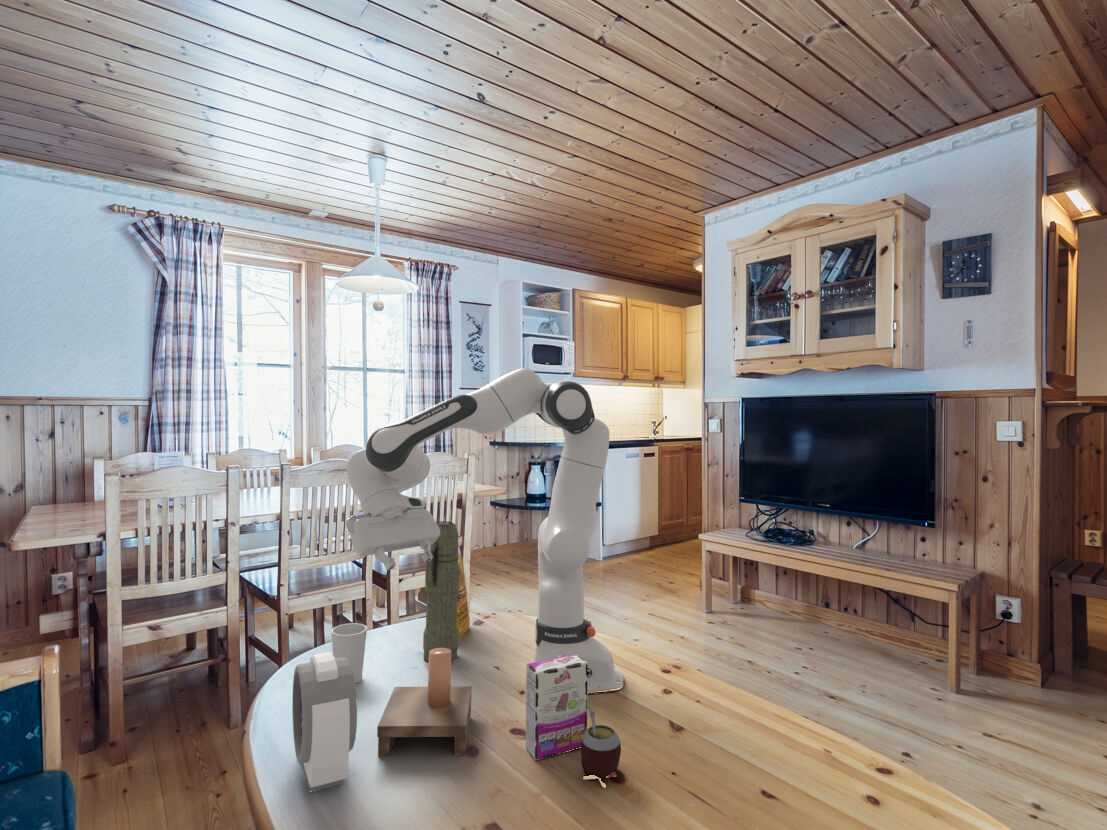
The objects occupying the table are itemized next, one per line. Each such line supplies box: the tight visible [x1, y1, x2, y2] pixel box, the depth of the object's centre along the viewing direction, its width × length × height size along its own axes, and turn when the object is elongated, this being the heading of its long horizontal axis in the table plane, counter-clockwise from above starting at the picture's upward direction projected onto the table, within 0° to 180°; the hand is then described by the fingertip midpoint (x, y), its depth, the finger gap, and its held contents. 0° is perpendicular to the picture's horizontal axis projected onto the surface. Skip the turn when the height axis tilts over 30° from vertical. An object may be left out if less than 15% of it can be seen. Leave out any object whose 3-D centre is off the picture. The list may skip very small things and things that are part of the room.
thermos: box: [422, 520, 460, 664], centre depth 156 cm, size 9×12×35 cm
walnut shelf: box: [376, 685, 473, 757], centre depth 118 cm, size 16×16×6 cm
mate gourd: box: [579, 704, 622, 783], centre depth 105 cm, size 8×8×15 cm
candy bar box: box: [525, 654, 588, 761], centre depth 115 cm, size 11×5×16 cm, turn 117°
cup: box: [331, 622, 368, 685], centre depth 142 cm, size 8×8×12 cm
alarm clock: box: [291, 651, 358, 792], centre depth 106 cm, size 18×8×20 cm, turn 29°
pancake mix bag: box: [457, 543, 471, 642], centre depth 173 cm, size 7×19×28 cm, turn 172°
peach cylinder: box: [427, 648, 452, 708], centre depth 119 cm, size 4×4×10 cm
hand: (410, 563), depth 127 cm, fingers open, 8 cm apart
